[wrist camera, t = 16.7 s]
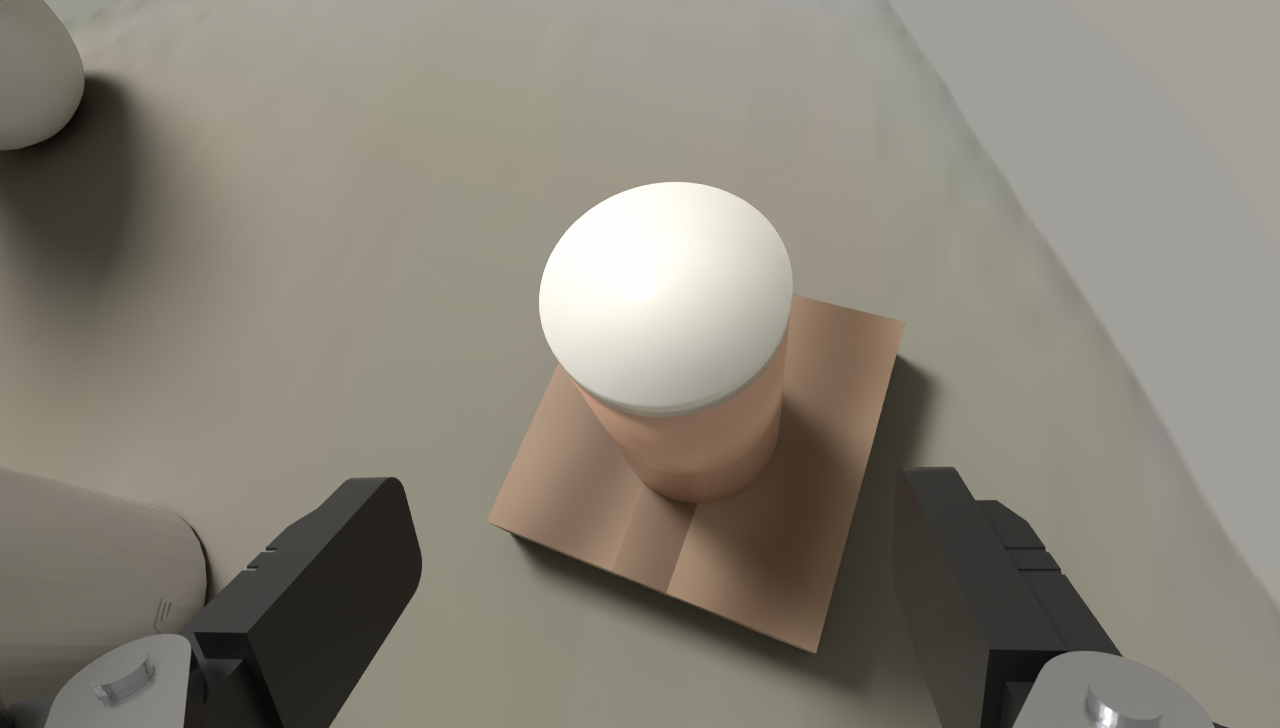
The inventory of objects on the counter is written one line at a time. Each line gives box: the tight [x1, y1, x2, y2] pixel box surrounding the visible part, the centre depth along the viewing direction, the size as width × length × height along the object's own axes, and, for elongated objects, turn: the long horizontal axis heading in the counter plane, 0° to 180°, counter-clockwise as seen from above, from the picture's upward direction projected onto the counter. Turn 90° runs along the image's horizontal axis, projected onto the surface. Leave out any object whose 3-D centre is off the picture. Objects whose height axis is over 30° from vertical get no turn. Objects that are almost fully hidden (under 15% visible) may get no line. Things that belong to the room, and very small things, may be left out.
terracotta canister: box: [539, 182, 793, 504], centre depth 20 cm, size 6×6×10 cm
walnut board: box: [486, 295, 905, 653], centre depth 25 cm, size 12×12×2 cm
